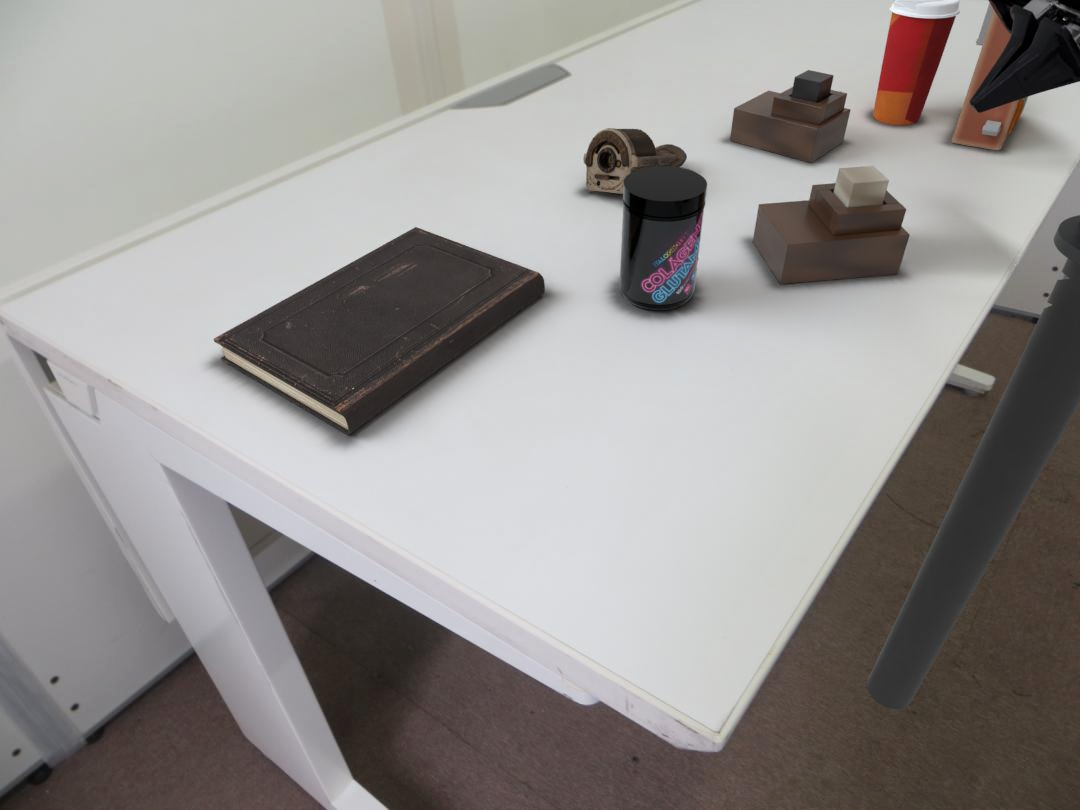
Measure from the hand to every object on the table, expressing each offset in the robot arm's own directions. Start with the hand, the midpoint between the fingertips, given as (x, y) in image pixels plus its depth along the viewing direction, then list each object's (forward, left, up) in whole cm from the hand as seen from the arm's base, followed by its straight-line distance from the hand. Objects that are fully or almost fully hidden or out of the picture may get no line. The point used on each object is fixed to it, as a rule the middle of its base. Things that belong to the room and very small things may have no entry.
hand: (973, 107), depth 64 cm
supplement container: (+23, +14, -13) cm, 30 cm away
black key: (+13, -23, -8) cm, 27 cm away
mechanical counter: (+29, -8, -13) cm, 33 cm away
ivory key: (+8, +3, -8) cm, 11 cm away
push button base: (+14, -24, -13) cm, 31 cm away
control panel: (-9, -33, -13) cm, 37 cm away
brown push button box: (+9, +4, -13) cm, 17 cm away
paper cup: (+1, -35, -13) cm, 38 cm away
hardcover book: (+44, +25, -13) cm, 53 cm away
